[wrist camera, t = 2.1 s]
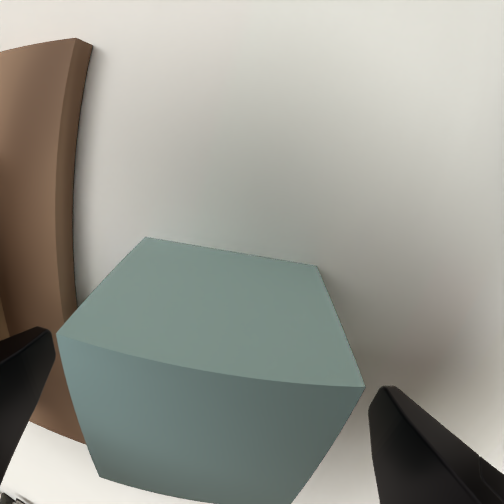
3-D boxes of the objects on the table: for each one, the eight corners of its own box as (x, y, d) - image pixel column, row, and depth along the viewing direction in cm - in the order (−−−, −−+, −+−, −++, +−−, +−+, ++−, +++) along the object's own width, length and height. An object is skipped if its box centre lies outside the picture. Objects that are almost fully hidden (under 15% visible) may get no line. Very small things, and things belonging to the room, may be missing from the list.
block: (316, 265, 9) (365, 387, 4) (278, 388, 11) (286, 508, 6) (145, 236, 9) (55, 333, 4) (144, 365, 11) (99, 476, 6)
